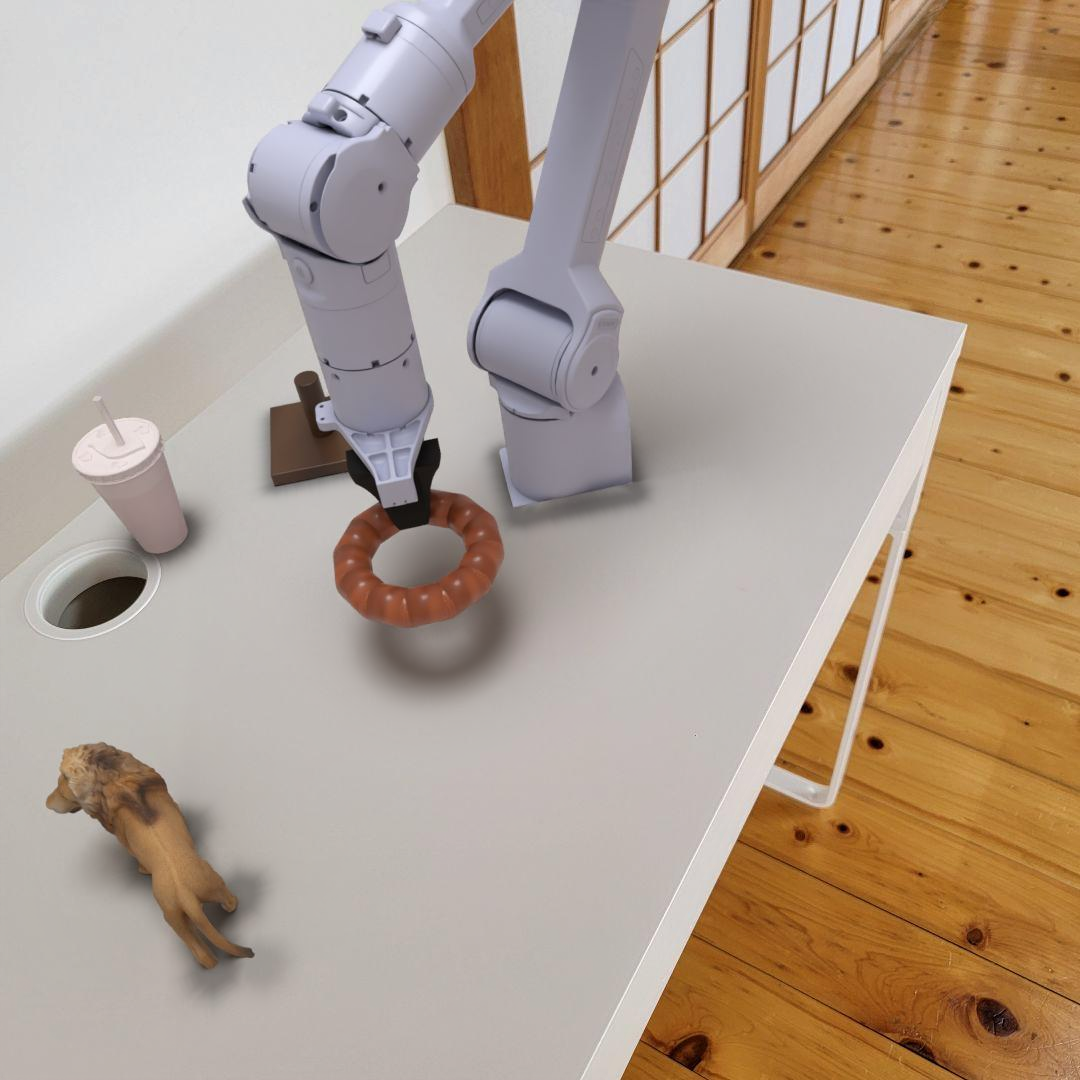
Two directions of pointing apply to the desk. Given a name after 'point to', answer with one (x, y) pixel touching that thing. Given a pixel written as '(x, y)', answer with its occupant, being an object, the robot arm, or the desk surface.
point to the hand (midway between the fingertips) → (410, 507)
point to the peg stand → (304, 437)
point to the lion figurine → (147, 837)
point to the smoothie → (133, 478)
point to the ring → (426, 599)
